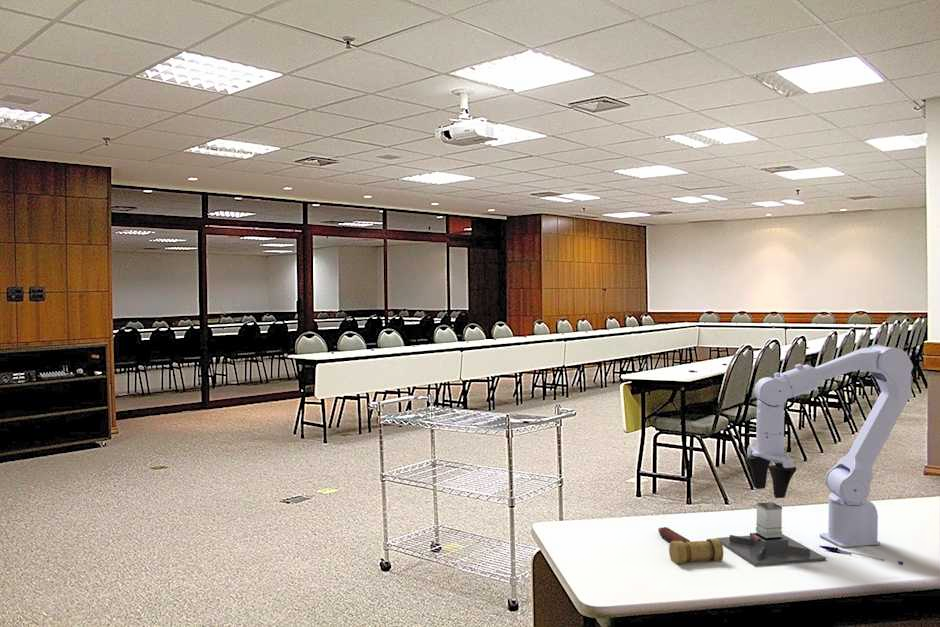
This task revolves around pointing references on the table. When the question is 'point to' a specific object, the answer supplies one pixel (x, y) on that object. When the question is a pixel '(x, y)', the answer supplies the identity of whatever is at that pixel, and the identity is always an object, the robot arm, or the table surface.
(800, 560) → the stand base
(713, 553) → the gavel
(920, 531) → the table surface
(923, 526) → the table surface
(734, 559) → the table surface
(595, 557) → the table surface
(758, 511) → the grey rectangular block
